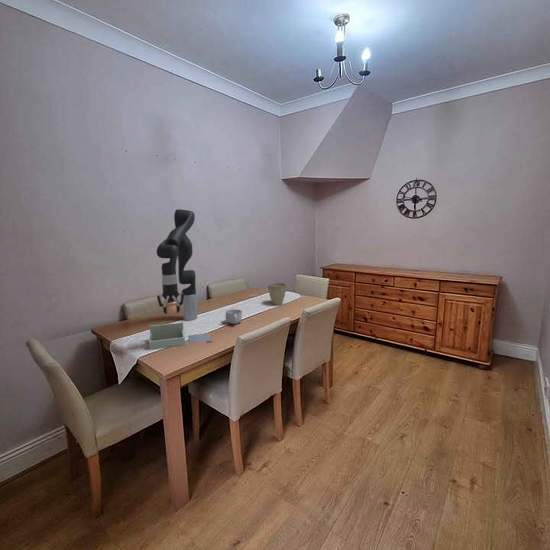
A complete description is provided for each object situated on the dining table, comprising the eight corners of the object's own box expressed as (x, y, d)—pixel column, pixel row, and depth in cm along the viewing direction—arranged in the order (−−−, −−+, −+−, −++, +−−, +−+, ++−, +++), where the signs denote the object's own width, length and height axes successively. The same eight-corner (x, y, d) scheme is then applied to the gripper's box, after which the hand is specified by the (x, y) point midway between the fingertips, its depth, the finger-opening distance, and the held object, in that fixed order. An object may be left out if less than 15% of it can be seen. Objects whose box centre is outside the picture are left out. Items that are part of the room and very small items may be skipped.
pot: (165, 312, 167) (164, 300, 165) (177, 311, 169) (177, 299, 167) (165, 316, 161) (164, 303, 159) (178, 315, 163) (177, 302, 161)
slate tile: (187, 337, 176) (187, 335, 175) (208, 334, 180) (208, 332, 179) (189, 345, 164) (189, 343, 164) (211, 342, 168) (211, 340, 168)
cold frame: (150, 341, 170) (149, 325, 168) (183, 337, 176) (182, 322, 174) (149, 351, 157) (148, 334, 156) (185, 346, 163) (184, 330, 161)
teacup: (226, 320, 205) (226, 308, 203) (242, 319, 206) (242, 308, 204) (224, 327, 191) (224, 315, 190) (241, 326, 192) (241, 314, 191)
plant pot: (287, 301, 249) (287, 282, 246) (285, 306, 235) (285, 286, 232) (269, 300, 251) (269, 282, 248) (266, 306, 237) (266, 286, 234)
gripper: (183, 280, 167) (185, 309, 170) (155, 282, 163) (157, 312, 166) (184, 283, 160) (185, 313, 163) (154, 285, 156) (157, 316, 159)
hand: (171, 312), depth 165 cm, fingers closed on pot, 5 cm apart
